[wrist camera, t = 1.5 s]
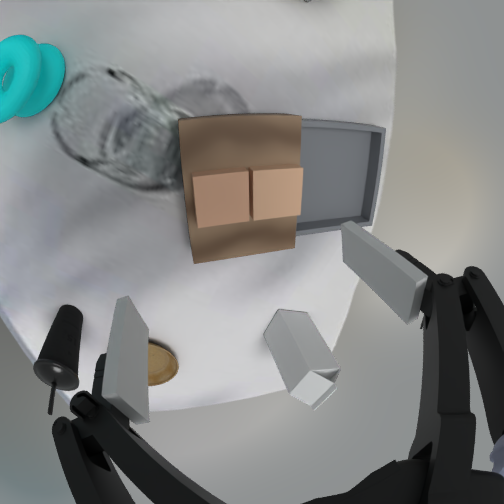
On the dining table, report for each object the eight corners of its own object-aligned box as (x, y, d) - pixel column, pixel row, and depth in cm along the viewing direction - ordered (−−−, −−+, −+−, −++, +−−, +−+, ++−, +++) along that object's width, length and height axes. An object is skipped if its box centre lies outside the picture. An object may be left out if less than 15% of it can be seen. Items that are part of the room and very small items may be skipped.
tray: (286, 118, 33) (296, 120, 30) (373, 125, 36) (385, 128, 34) (283, 227, 42) (290, 236, 39) (361, 218, 45) (371, 225, 43)
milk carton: (262, 333, 53) (297, 413, 38) (278, 308, 51) (320, 390, 35) (291, 335, 56) (328, 407, 41) (307, 311, 54) (352, 385, 38)
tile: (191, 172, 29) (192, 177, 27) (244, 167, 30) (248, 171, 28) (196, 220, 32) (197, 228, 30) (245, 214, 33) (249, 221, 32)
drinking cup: (80, 335, 42) (66, 429, 25) (47, 315, 37) (21, 408, 21) (97, 314, 40) (83, 417, 24) (61, 291, 36) (30, 393, 20)
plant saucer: (137, 321, 44) (137, 332, 42) (192, 357, 52) (193, 366, 50) (94, 355, 45) (93, 364, 43) (146, 383, 54) (147, 393, 51)
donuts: (49, 66, 14) (-9, 144, 15) (81, 74, 22) (31, 130, 23) (12, 17, 8) (-42, 92, 9) (47, 32, 17) (-1, 88, 18)
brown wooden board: (177, 118, 29) (178, 120, 25) (285, 113, 32) (301, 116, 28) (190, 245, 39) (193, 264, 35) (281, 232, 42) (294, 248, 38)
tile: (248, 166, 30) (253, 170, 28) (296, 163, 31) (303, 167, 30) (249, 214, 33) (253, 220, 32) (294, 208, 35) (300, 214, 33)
